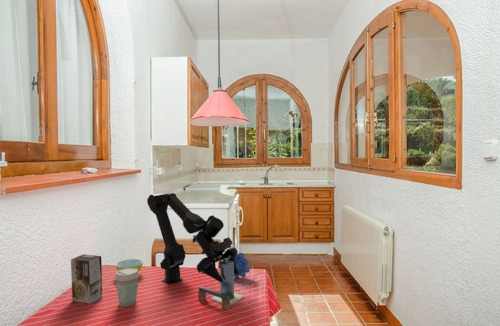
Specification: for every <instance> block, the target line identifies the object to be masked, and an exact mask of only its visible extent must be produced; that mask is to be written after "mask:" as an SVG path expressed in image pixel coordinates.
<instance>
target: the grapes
mask: <svg viewBox="0 0 500 326" xmlns="http://www.w3.org/2000/svg"><path fill="white" fill-rule="evenodd" d="M235 262H236V266H237V270H238V274H237V275H236V274H235V273H234V278H240V277H241V278H245V277H246V275H247V274H248V273H250V271H251V269H250V267H249V264H250V261H249V259H247V258H245V255H244V253H242V252H237V255H236V256H235Z"/></svg>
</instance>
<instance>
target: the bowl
mask: <svg viewBox="0 0 500 326" xmlns="http://www.w3.org/2000/svg"><path fill="white" fill-rule="evenodd" d="M143 264H144V261H143V260H142V259H141V258H140V259H138V258H131V259H130V258H128V259H123V260H121V261H120V260H119V261H118V262H117V263H116V264H115V268H116V272H117V271H119V270H121V269H125V268H136V269H137V270H138V272H139V273H140V271H141V270H142V268H143Z"/></svg>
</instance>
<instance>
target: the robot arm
mask: <svg viewBox="0 0 500 326" xmlns="http://www.w3.org/2000/svg"><path fill="white" fill-rule="evenodd" d="M146 202H147V205H148V208H149V210H150V211H151V212H152V213H153V214H154V215H155V216H156V220H157V223H158V226H159V230H160V233H161V236H162V239H163V242H164V250H163V256H164V258H163V259H162V260H161V262H160V263H159V265H160V268H161V269H163V270H164V278H163V279H162V280H161V282H163V283H166V284H169V285H174V284H177V283H178V282H181V281H183V280H184V279H183V277H181V269H180V268H181V266H183V265H184V262H185V258H186V251H185V249H184V244H182V243H178V241H177V240H176V236H175V232H174V230H173V226H172V224H171V220H170V217H169V214H168V207H170V209H171V210H172V211H173V212H174V213H175V214H176V215H177V216H178V218H180V220H182V227H183V228H184V229H185V230H186V232H187V233H188V234H189V235H190V234H194V235H193V237H192V243H193V244H194V243H196V242H197V243H198V245H199V246H200V248H201V250H202V251H201V255H205V256H206V257H203V258H202V259H201V260H200V261H199V262H198V263H197V265H196V270H197V271H198V273H199V274H202V275H204V274H205V275H207V276H209V277H211V278H213V279H214V280H216V281H217V282H218V283H220V282H221V283H222V282H223V280H222V278H221V276H220V271H218V269H217V267H216V263H218V262H222V261H233V262H234V273H235V274H236V275H237V274H238V270H237V266H236V262H235V256H236V255H237V254H238V253H239V252H238V249H236V247H234V246H233V240H232V239H231V238H230V237H226V238H223V241H220V242H219V241H218V240H216V241H215V240H214V238H215V237H216V236H217V235H218V234H219V233H220V232H221V230H222V229H223V228H224V226H225V225H224V222H223V221H222V220H221V219H220V218H218V217H216V216H215V215H214V214H213V215H210V216H208V218H207V219H206V220H205V219H204V218H203V217H201V216H200V215H199V214H196V213H195V212H193V211H191V210H190V209H189V208H188V207H187V206H186V205H185V204H184V203H183V202H182V201H181V199H180V198H178V196H177V194H176V193H175V192H168V193H162V192H161V193H155V194H154V193H153V194H150V195H149V196H148V197H147V199H146ZM195 233H197V234H195ZM232 246H233V247H232Z"/></svg>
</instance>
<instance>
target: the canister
mask: <svg viewBox="0 0 500 326" xmlns="http://www.w3.org/2000/svg"><path fill="white" fill-rule="evenodd" d="M219 274H220V276H221V278H222V280H223V282H222V283H221V282H219V284H220V287H219V288H220V291H219V292H220V293H223V294H226V295H229V298H230V299H233V298H234V293H235V277H234V262H233V261H223V260H221V261H219ZM221 299H223V298H221Z"/></svg>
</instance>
